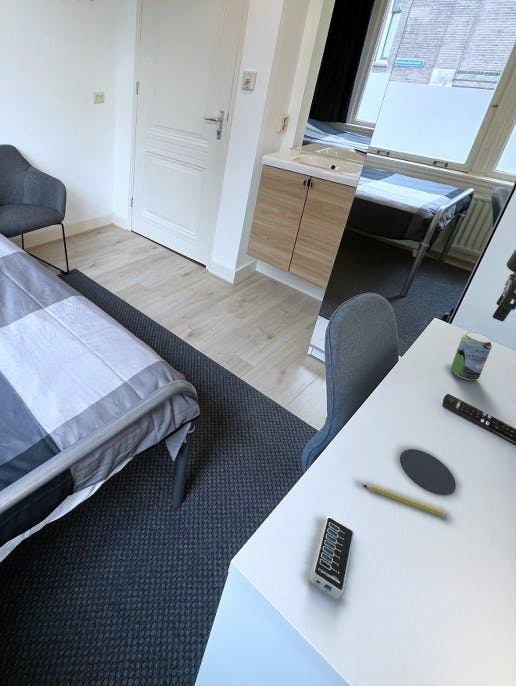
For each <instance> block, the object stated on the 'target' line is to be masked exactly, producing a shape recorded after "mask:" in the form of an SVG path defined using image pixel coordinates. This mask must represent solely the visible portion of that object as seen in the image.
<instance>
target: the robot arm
mask: <svg viewBox="0 0 516 686" xmlns="http://www.w3.org/2000/svg"><path fill="white" fill-rule="evenodd" d="M506 268H507V269H508V270H509V271H511V272H513V273H510V274H509V276H508V277H507V280H506V282H505V283H504V287H503V292H502V293H501V295H500V296H499V298H498V299H497V301H496V305H497V308H496V309H495V311H494V313H493V314H492V319H494V320H497V321H499V322H505V320H506V318H507V317H508V316H509V314H510V313H511V311H515V310H516V248H515V249H514V251H513V252H512V254H511V256H510V257H509V259H508V261H507V262H506ZM511 302H512V303H511Z"/></svg>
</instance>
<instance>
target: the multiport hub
mask: <svg viewBox="0 0 516 686" xmlns="http://www.w3.org/2000/svg"><path fill="white" fill-rule="evenodd" d="M354 535H355V532H354V530H353V529H351V528H350V527H347V526H346V525H344V524H343V523H341V522H339V521H338V520H336V519H334V518H332V517H331V516H329V515H328V516H326V517H325V518H324V520H323V523H322V525H321V530H320V533H319V535H318V541H317V543H316V548H315V552H314V557H313V560H312V563H311V568H310V572H309V576H308V580H309V581H310V583H312V584H313V585H315V587H317V588H319V589H320V590H321V591H323V592H325V593H326V594H327V595H329V596H331V597H332V598H333V599H334V600H335V599H336V600H339V598H341V595H342V594H343V593H344V590H345V583H346V580H347V579H346V578H347V574H348V573H347V572H348V568H349V563H350V557H351V552H352V547H353V542H354V541H353V540H354Z"/></svg>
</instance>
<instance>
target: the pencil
mask: <svg viewBox="0 0 516 686" xmlns="http://www.w3.org/2000/svg"><path fill="white" fill-rule="evenodd" d="M362 487H365V488H366V489H368V490H369V491H371V492H374V493H377V494H379V495H382V496H385V497H386V498H390V499H392V500H396V501H398V502H401V503H403V504H406V505H409V506H411V507H415V508H417V509H419V510H422V511H425V512H428V513H431V514H433V515H436V516H439V517H441V518H444V519H447V518H448V513H447V512H446V511H443V510H440V509H437V508H436V507H432V506H429V505H426V504H424V503H421V502H418V501H416V500H413V499H410V498H408V497H405V496H402V495H399V494H397V493H393V492H392V491H387V490H385V489H382V488H379V487H378V486H374V485H369V484H362Z"/></svg>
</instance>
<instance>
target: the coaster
mask: <svg viewBox="0 0 516 686" xmlns="http://www.w3.org/2000/svg"><path fill="white" fill-rule="evenodd" d="M399 456H400V457H399V462H400V465H401V468H402V470H403V471H404V473H405V474H406V475H407V476H408V477H409V478H410V479H411V480H412V481H413V482H414V483H415V484H417V485H418V486H419V487H421V488H423V489H425V490H427V491H428V492H431V493H434V494H437V495H449V494H452V493H453V492H454V491H455V489H456V486H457V485H456V479H455V477H454V475H453V473H452V472H451V470H450V469H449V468H448V467H447V466H446V464H444V463H443V462H442V461H440V460H439V459H438V458H436V457H435V456H434V455H432V454H430V453H428V452H426V451H423V450H421V449H414V448H409V449H405V450H404V451H402V452H401V454H400V455H399Z"/></svg>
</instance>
